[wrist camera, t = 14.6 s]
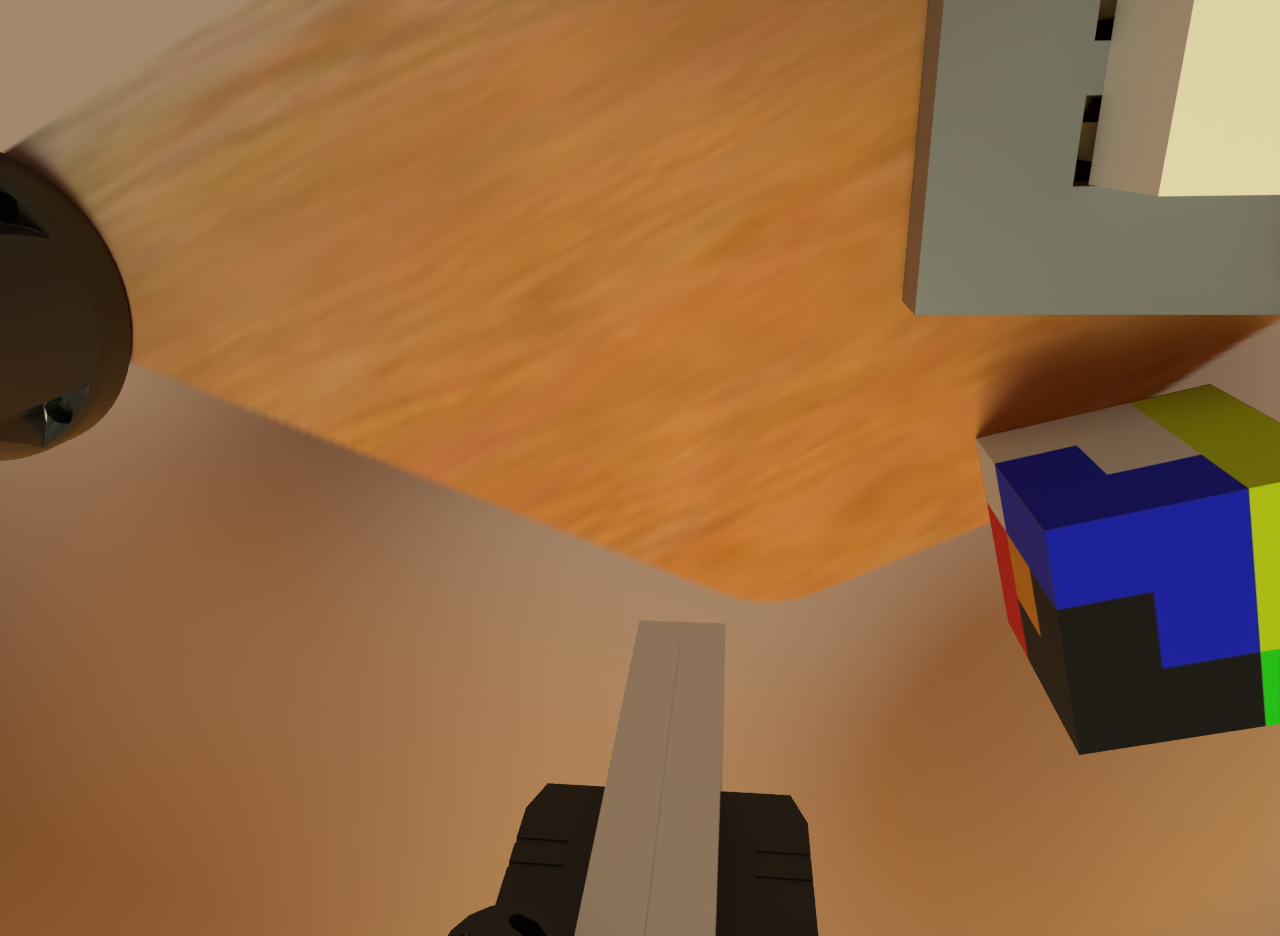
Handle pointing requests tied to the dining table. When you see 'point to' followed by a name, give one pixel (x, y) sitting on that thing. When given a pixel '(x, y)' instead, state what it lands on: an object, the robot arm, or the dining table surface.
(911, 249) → the socket plate
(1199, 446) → the puzzle toy
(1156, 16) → the plug
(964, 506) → the dining table surface
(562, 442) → the dining table surface
